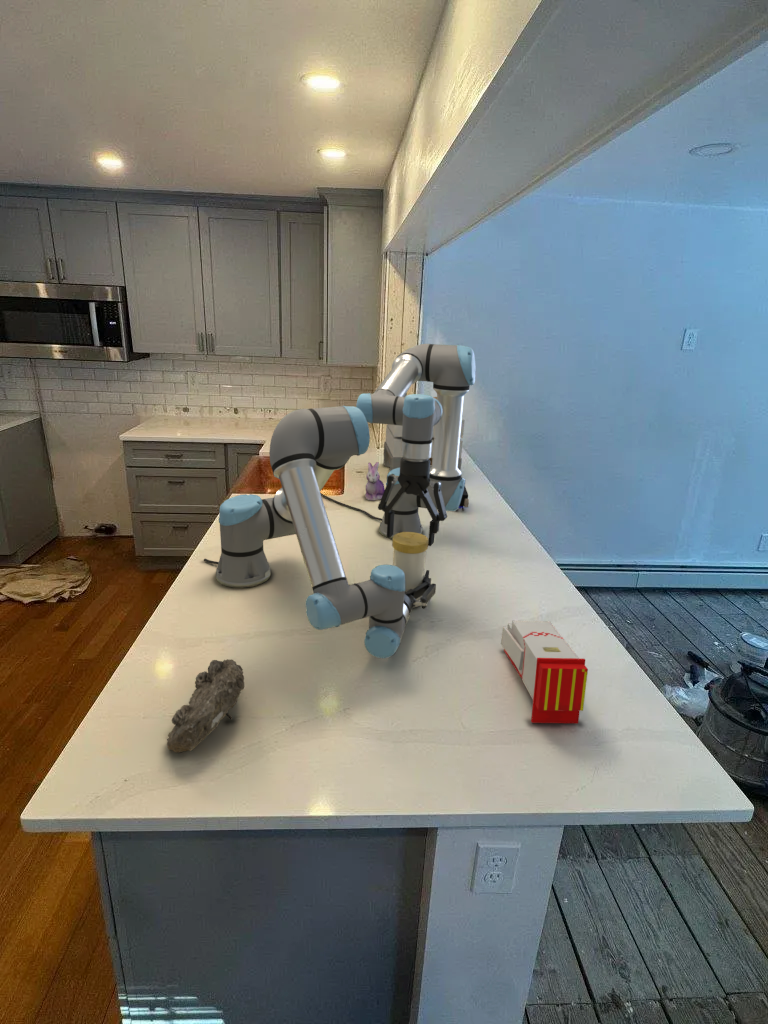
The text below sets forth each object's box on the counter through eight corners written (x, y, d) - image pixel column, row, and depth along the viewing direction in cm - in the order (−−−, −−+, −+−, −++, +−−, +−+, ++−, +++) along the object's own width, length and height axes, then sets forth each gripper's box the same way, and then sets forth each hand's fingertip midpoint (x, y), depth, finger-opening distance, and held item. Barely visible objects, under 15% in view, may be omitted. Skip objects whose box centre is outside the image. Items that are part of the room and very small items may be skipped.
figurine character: (468, 516, 224) (463, 500, 237) (471, 498, 221) (465, 483, 234) (452, 515, 224) (447, 499, 237) (453, 498, 220) (449, 482, 234)
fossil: (192, 660, 117) (244, 628, 112) (224, 691, 120) (276, 661, 115) (142, 746, 98) (202, 712, 93) (182, 779, 101) (242, 748, 96)
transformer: (382, 463, 289) (386, 382, 275) (445, 464, 293) (451, 384, 279) (390, 482, 257) (394, 392, 243) (460, 483, 261) (468, 394, 247)
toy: (547, 606, 135) (596, 665, 106) (541, 658, 138) (589, 729, 108) (496, 604, 134) (532, 664, 105) (492, 657, 137) (526, 729, 108)
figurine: (369, 502, 230) (370, 466, 225) (359, 494, 239) (360, 460, 234) (390, 499, 234) (391, 464, 229) (378, 492, 243) (380, 458, 238)
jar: (410, 611, 149) (414, 549, 143) (384, 600, 154) (387, 540, 148) (428, 599, 156) (433, 539, 149) (402, 589, 160) (406, 531, 154)
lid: (414, 557, 143) (415, 548, 142) (385, 546, 148) (385, 538, 148) (434, 546, 150) (435, 538, 149) (405, 536, 155) (406, 529, 155)
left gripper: (351, 618, 139) (373, 579, 160) (437, 632, 135) (448, 589, 156) (351, 591, 137) (373, 554, 158) (439, 604, 133) (450, 565, 153)
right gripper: (464, 461, 140) (457, 543, 148) (378, 449, 148) (375, 527, 156) (456, 468, 134) (448, 553, 141) (366, 455, 142) (363, 536, 149)
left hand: (410, 572), depth 157 cm, fingers closed on jar, 9 cm apart
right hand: (410, 540), depth 148 cm, fingers open, 11 cm apart
